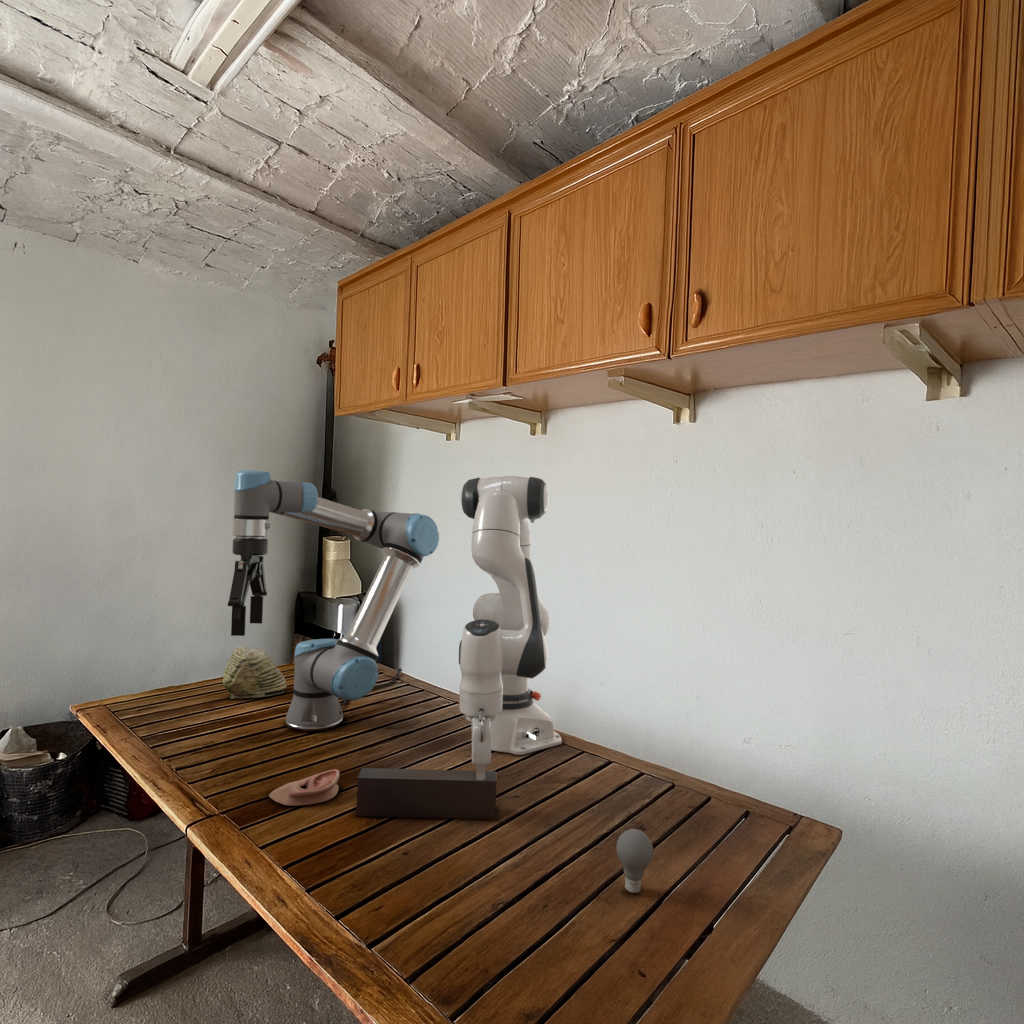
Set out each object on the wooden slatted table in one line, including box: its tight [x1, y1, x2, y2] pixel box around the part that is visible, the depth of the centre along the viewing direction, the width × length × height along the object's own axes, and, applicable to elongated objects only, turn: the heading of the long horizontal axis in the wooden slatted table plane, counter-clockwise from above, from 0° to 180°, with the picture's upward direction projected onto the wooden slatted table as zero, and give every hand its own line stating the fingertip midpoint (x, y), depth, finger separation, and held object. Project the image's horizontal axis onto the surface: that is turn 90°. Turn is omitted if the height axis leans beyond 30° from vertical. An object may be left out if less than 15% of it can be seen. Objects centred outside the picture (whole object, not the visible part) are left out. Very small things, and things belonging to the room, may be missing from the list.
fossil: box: [222, 646, 288, 699], centre depth 198 cm, size 9×18×15 cm, turn 132°
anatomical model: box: [268, 768, 340, 807], centre depth 134 cm, size 13×4×12 cm
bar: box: [355, 767, 498, 820], centre depth 129 cm, size 28×5×8 cm, turn 92°
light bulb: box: [615, 828, 654, 894], centre depth 106 cm, size 6×6×10 cm
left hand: (247, 629), depth 146 cm, fingers open, 13 cm apart
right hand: (480, 767), depth 130 cm, fingers open, 8 cm apart
